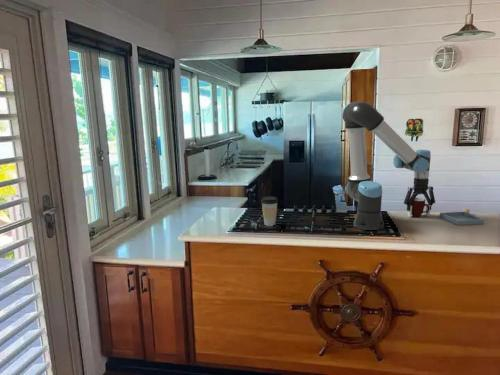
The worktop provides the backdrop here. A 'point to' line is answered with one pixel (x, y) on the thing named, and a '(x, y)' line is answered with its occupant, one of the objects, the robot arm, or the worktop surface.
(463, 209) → the ball
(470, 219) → the tray
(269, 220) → the coffee cup
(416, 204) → the mug
